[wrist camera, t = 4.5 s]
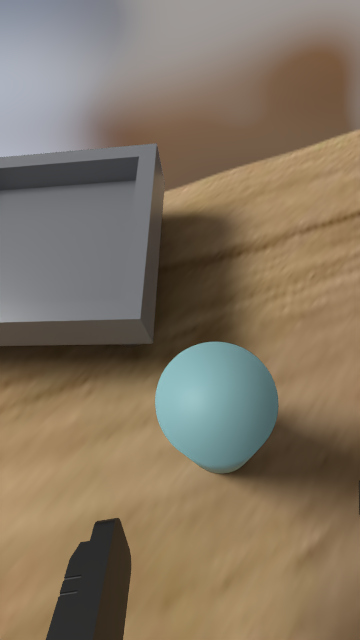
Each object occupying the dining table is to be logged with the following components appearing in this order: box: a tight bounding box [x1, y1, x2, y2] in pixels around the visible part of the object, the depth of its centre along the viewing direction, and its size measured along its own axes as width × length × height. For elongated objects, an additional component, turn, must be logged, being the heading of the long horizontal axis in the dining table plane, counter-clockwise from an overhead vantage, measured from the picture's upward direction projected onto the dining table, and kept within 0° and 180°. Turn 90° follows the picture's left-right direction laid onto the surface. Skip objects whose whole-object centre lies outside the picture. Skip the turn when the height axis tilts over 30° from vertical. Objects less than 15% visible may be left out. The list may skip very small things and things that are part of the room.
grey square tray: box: [0, 144, 165, 347], centre depth 25 cm, size 16×14×6 cm
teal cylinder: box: [155, 342, 278, 474], centre depth 17 cm, size 4×4×10 cm
